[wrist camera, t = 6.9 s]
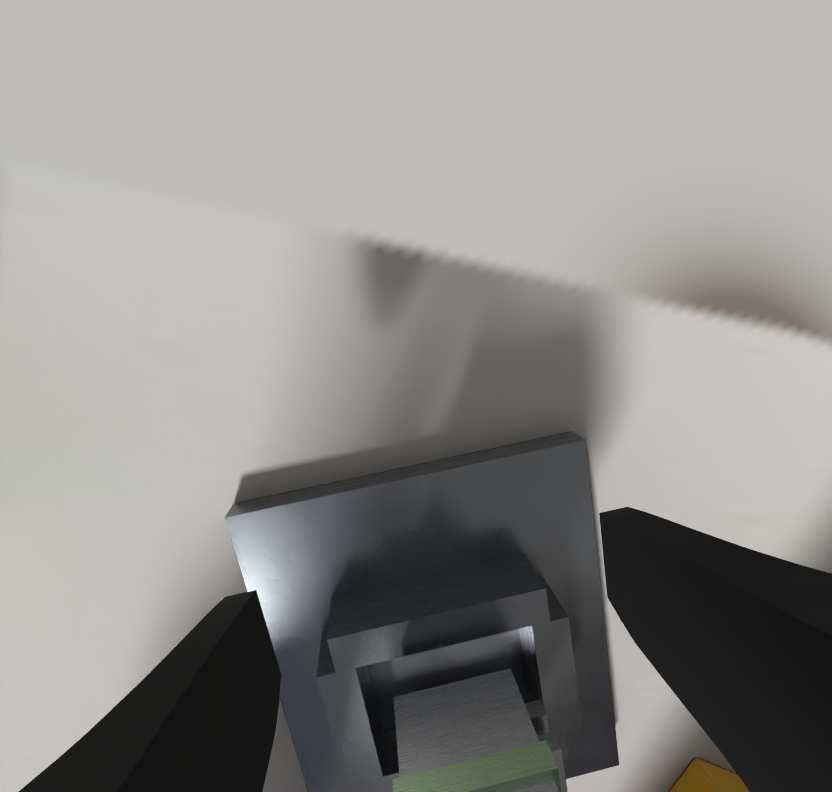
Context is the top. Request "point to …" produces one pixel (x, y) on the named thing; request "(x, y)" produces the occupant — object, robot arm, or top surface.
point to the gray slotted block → (476, 739)
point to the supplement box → (708, 779)
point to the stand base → (432, 601)
